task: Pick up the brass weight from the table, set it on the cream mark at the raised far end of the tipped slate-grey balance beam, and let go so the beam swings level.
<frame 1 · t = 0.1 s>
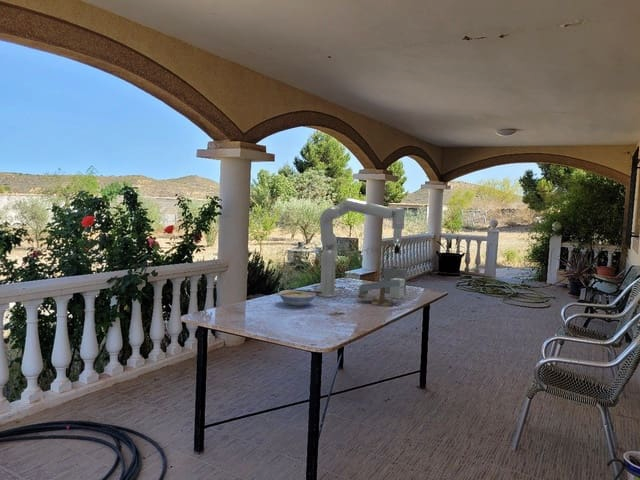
hand: (396, 252, 302), 31 cm above the table, tool pointing down, fingers open, 9 cm apart
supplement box: (396, 297, 312), on the table
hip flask: (394, 293, 327), on the table
ramen bowl: (297, 305, 280), on the table
pivot stand: (381, 303, 293), on the table
balance beam: (380, 287, 292), point 10 cm above the table, hinge at -12.0°
brass weight: (361, 296, 311), on the table
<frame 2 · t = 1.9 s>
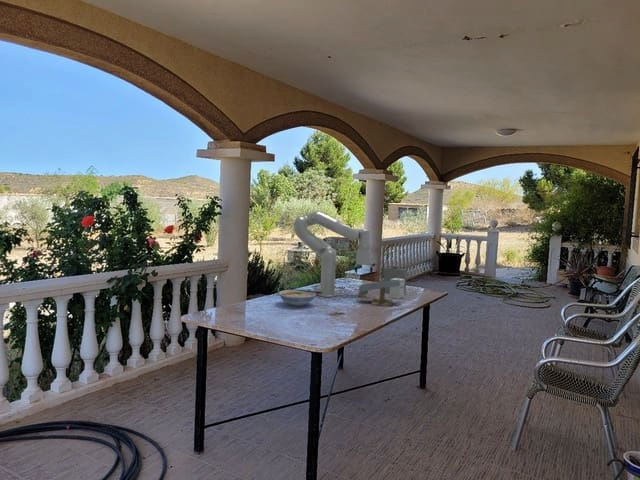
hand: (363, 273, 309), 16 cm above the table, tool pointing down, fingers open, 9 cm apart
nothing on the table moved.
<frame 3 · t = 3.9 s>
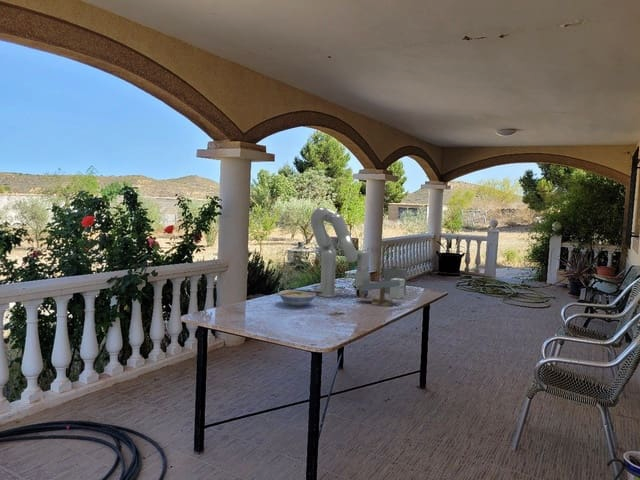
hand: (362, 295, 311), 1 cm above the table, tool pointing down, fingers closed on brass weight, 5 cm apart
brass weight: (361, 296, 311), on the table, touching gripper
everything else where it was.
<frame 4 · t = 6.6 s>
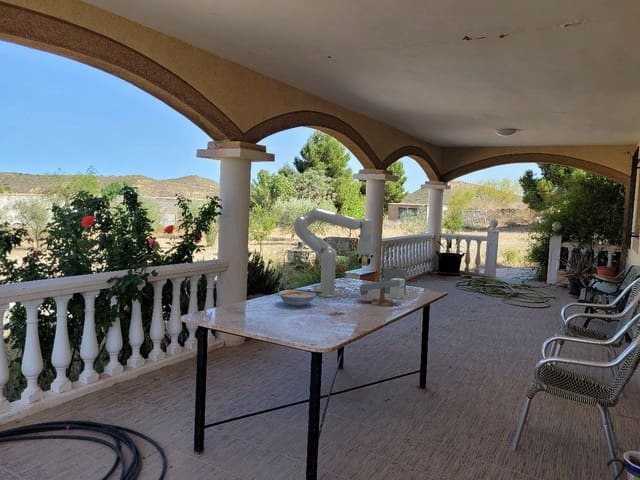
hand: (364, 264, 308), 22 cm above the table, tool pointing down, fingers closed on brass weight, 5 cm apart
brass weight: (364, 265, 308), point 21 cm above the table, touching gripper
everything else where it was.
when the fingers open (15 cm above the table, at t = 9.7 s): brass weight drops 2 cm, resting on balance beam.
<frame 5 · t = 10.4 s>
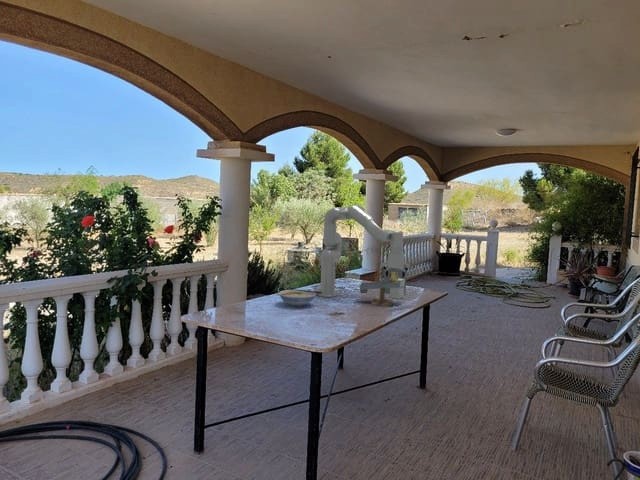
hand: (395, 277, 290), 17 cm above the table, tool pointing down, fingers open, 9 cm apart
balance beam: (380, 287, 292), point 10 cm above the table, hinge at -6.7°, touching brass weight
brass weight: (394, 283, 291), point 13 cm above the table, tilted 7°, touching balance beam
everything else where it was.
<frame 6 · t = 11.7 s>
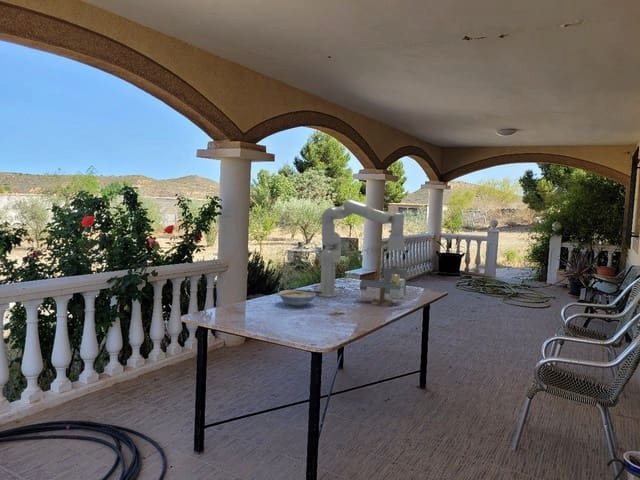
hand: (395, 259, 289), 28 cm above the table, tool pointing down, fingers open, 9 cm apart
balance beam: (380, 286, 292), point 10 cm above the table, hinge at 2.3°, touching brass weight
brass weight: (394, 285, 291), point 12 cm above the table, touching balance beam
everything else where it was.
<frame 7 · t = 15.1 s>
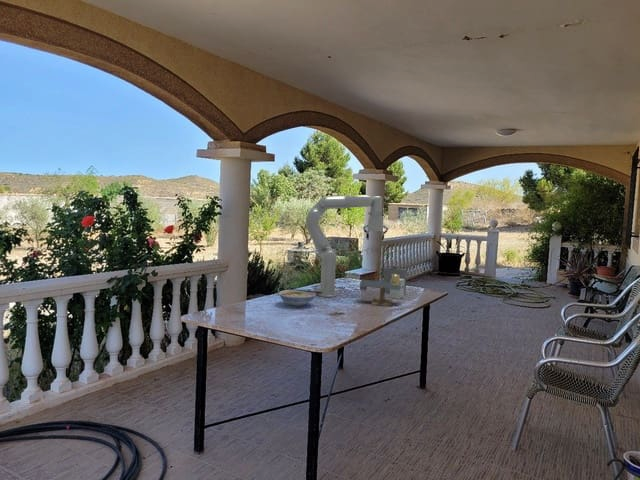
hand: (375, 239, 311), 38 cm above the table, tool pointing down, fingers open, 9 cm apart
nothing on the table moved.
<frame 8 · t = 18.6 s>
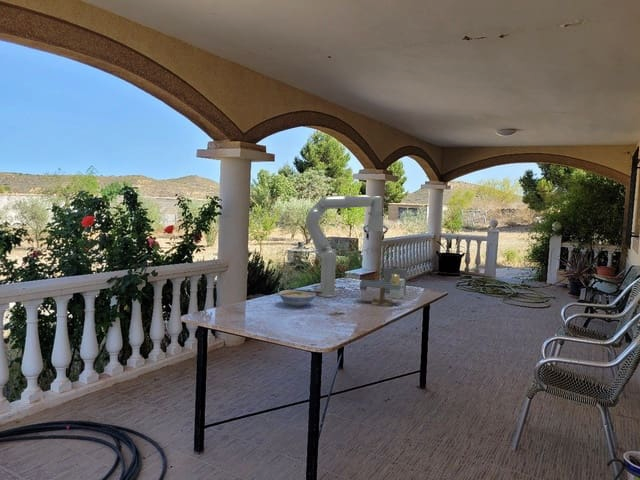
hand: (375, 239, 311), 38 cm above the table, tool pointing down, fingers open, 9 cm apart
nothing on the table moved.
at the end: balance beam at +2° (first picture: -12°); brass weight inside the target area on the balance beam (0.2 cm from its centre), point 1.5 cm above the balance beam's base; brass weight tilted 2° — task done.
